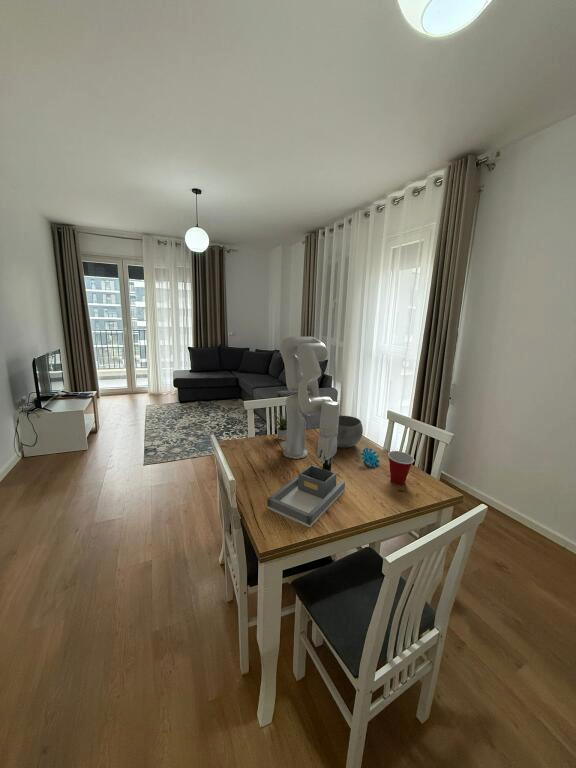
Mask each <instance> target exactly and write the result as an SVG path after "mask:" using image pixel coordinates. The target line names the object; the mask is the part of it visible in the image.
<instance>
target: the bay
mask: <svg viewBox="0 0 576 768" xmlns="http://www.w3.org/2000/svg"><path fill="white" fill-rule="evenodd" d="M345 487H346V481H345V480H341V481H340V482H339V483H338V484H336V487H335V488H334V489H333V490H332V491H331V492H330V493H329V494H328V495H327V496H326V497H325V498H324V499H322V498H319V497H317V496H314V495H312V494H309V493H306V492H304V491H301V490H299V489H298V475H297V476H296V477H295V478H293V479H291V481H289V482H288V483H287V484H285V485H284V486H282V488H280V489H279V490H277V491H276V492H274V493H273V494H272V495H270V496H269V497H268V498H267V509H268V510H271V511H272V512H275V513H277V514H279V515H280V516H282V517H283V516H284V517H285V518H287V519H290V520H292V521H294V522H296V523H298V522H299V524H300V523H301V524H300V525H303V526H306V527H307V528H309V527H310V528H311V527H312V526H313V525H314V524H316V522H317V521H318V520H319V519H320V518H321V516H322V515H323V514H325V512H326V511H327V510H328V509H329V508H330V507H331V506H332V505H333V504H334V503H335V502H336V500H337V499H338V498H339V497H340V496H341V495H342V494H343V493H345V492H344V491H345Z"/></svg>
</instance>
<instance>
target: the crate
mask: <svg viewBox="0 0 576 768" xmlns="http://www.w3.org/2000/svg"><path fill="white" fill-rule="evenodd" d="M337 473H338V472H336V471H335V472H334V471H332V470H331V471H329V470H326V469H323V467H320V466H316V465H313V464H310V465H308V466H307V467H306V468H304V469H303V470H302V471H300V472H299V473H298V474H297V476H298V489H299V490H301V491H304V492H306V493H309V494H312V495H314V496H317V497H319V498H322V499H324V498H325V497H326V496H327V495H328V494H329V493H330V492H331V491H332V490H333V489H334V488H335V487H336V486H337Z"/></svg>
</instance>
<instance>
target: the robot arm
mask: <svg viewBox="0 0 576 768" xmlns="http://www.w3.org/2000/svg"><path fill="white" fill-rule="evenodd" d="M279 349H280V354H281V358H282V360H283V363H284V371H285V382H286V387H287V390H288V391H290V392H297V393H296V394H291V395H289V396H287V397H286V399H285V409H286V411H285V412H286V415H287V419H286V420H287V440H286V441H281V445H280V447H281V448H283V451H282V452H283V456H285V457H286V458H288V459H292V458H293V460H299V459H300V458H301V459H303V458H306V457H307V456H308V454H309V453H308V450H307V449H306V424H307V423H306V419H305V417H304V416H303V415H305V416H317V415H319V417H320V420H319V435H318V442H317V448H316V458H317V459H319V458H320V461H319V462H320V464H322V468H323V469H326V470H329V471H332V463H333V456H335V455H336V454H337V451H338V447H337V436H338V424H339V416H340V404H339V402H337V401H334V400H333V399H332V398H331V397H330V396H320V389H319V382H318V381H319V380H318V379H319V378H321V377H322V369H321V367H320V363H319V362H323V361H326V360H327V358H328V356H329V352H328V348H327V346H326V344H324V342H322V341H321V340H319V339H317V338H316V337H314V336H295V335H294V336H287V337H284V338H283V339H282V340H281V342H280V347H279ZM302 414H303V415H302Z"/></svg>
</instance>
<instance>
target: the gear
mask: <svg viewBox="0 0 576 768" xmlns="http://www.w3.org/2000/svg"><path fill="white" fill-rule="evenodd" d="M361 451H362V452H361V456H362V457H361V459H362V460H363V463H364V464H365V465H367V464H368V465H367V466H368V467H369V468H371V467H372V468H374V469H375V468H376V467H378V466H379V463H380V460H379V458H380V456H381V455H380V454H377V452H376V451H375V450H373V448H369V447H365V448H363V449H362V450H361ZM372 451H373V452H372ZM376 454H377V455H376Z"/></svg>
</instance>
